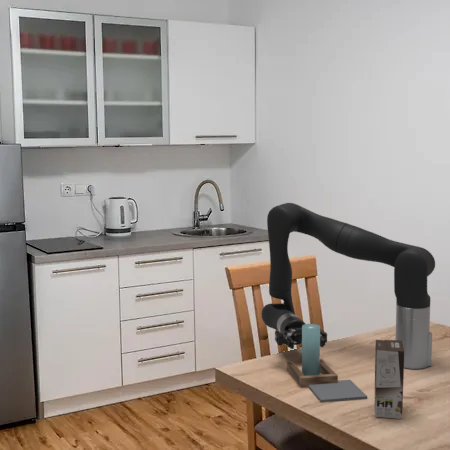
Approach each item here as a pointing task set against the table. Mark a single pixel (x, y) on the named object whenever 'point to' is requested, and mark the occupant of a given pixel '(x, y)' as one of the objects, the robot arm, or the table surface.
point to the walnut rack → (304, 381)
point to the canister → (310, 349)
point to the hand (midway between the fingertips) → (307, 344)
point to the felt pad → (337, 391)
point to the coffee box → (389, 378)
